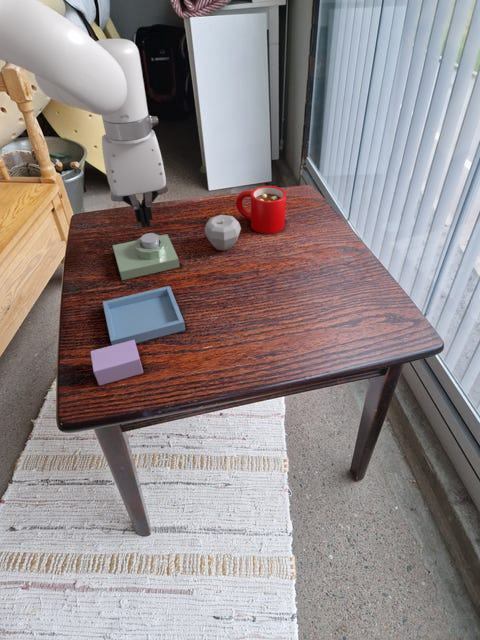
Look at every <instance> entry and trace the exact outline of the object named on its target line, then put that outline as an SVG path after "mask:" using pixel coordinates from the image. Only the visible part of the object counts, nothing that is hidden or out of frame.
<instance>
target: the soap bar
mask: <svg viewBox="0 0 480 640" xmlns="http://www.w3.org/2000/svg"><path fill="white" fill-rule="evenodd" d="M90 358H91V365H92V370H93V372H92V373H93V375H94V377H95V379H96V382H97V384H98V386H99V387H100V386H103V385H107V384H111V383H114V382H117V381H120V380H124V379H127V378H131V377H134V376H138V375H141V374H144V369H143V365H142V362H141V358H140V354H139V351H138V347H137V343H135V340H131V341H127V342H123V343H119V344H116V345H112V344H111V345H108V346H104V347H101V348H97V349H93V350H90Z"/></svg>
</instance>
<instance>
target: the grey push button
mask: <svg viewBox="0 0 480 640" xmlns="http://www.w3.org/2000/svg"><path fill="white" fill-rule="evenodd" d="M158 235H159V234H156V233H155V232H149V233H144V234H142V235H141V237H140V238H141V244H142V247H143V248H144V249H153V248H156V247H158V246H159V238H158Z"/></svg>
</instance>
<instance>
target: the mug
mask: <svg viewBox="0 0 480 640" xmlns="http://www.w3.org/2000/svg"><path fill="white" fill-rule="evenodd" d="M245 198H250V212H249V211H247V210H246V209H245V207H244V206H243V200H244V199H245ZM286 204H287V192H286V191H285V190H284V189H283V188H281V187H278V186H275V185H262V186H258V187H255V188H254V189H253V190H252V189H245V190H242V191H241V192H240V193H239V194H238V195H237V197H236V199H235V206H236V209H237V211H238V213H239V214H240V215H241V216H242V217H243V218H245V219H247V220H250V227H251V229H252V230H253V231H255V232H257V233H259V234H265V235H269V234H270V235H272V234H276V233H279V232H281V231H282V230H283V229H284V227H285V221H286V206H287V205H286Z"/></svg>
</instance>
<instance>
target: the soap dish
mask: <svg viewBox="0 0 480 640" xmlns="http://www.w3.org/2000/svg"><path fill="white" fill-rule="evenodd" d="M102 305H103V311H104V315H105V321H106V327H107V331H108V335H109V339H110V340H109V341H110V344H111V346H112V345H116V344H119V343H123V342H127V341H131V340H135V343H136V344H139V343H142V342H146V341H150V340H154V339H158V338H162V337H165V336H169V335H172V334H177V333H180V332H184V331H186V326H185V321H184V318H183V316H182V313H181V310H180V307H179V305H178V303H177V300H176V298H175V296H174V293H173V290H172V288H171V286H170V285H167V286H163V287H159V288H154V289H150V290H146V291H142V292H138V293H133V294H129V295H125V296H120V297H117V298H112V299H107V300H104V301H102Z"/></svg>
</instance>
